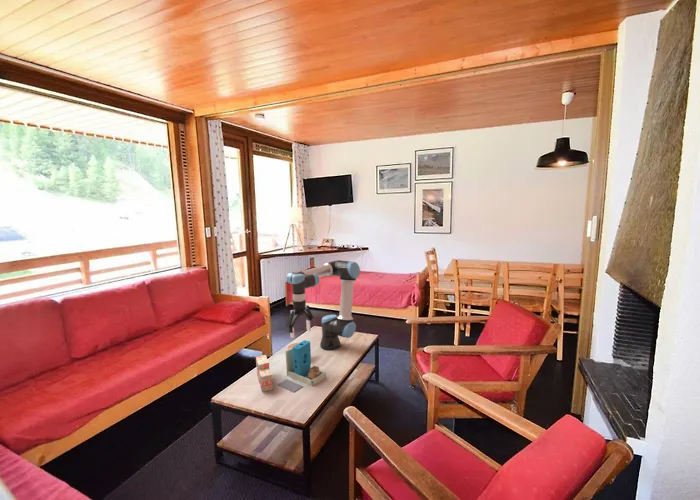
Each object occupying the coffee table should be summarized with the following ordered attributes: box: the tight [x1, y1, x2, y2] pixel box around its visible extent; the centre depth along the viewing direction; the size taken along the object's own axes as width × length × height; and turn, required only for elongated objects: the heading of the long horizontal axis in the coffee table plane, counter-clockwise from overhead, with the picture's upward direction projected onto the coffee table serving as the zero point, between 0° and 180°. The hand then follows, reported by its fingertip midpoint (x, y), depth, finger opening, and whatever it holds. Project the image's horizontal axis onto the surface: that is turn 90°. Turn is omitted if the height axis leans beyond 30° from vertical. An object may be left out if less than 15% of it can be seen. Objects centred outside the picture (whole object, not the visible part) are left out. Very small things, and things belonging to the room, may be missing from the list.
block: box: [293, 339, 312, 378], centre depth 198 cm, size 12×5×20 cm, turn 149°
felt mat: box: [277, 379, 304, 393], centre depth 187 cm, size 7×14×1 cm, turn 53°
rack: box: [285, 348, 327, 387], centre depth 196 cm, size 12×22×16 cm, turn 53°
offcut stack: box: [307, 365, 320, 380], centre depth 193 cm, size 6×4×8 cm
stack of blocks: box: [255, 354, 274, 393], centre depth 192 cm, size 21×6×12 cm, turn 23°
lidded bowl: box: [287, 342, 299, 350], centre depth 220 cm, size 13×13×11 cm
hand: (300, 333), depth 195 cm, fingers open, 13 cm apart
